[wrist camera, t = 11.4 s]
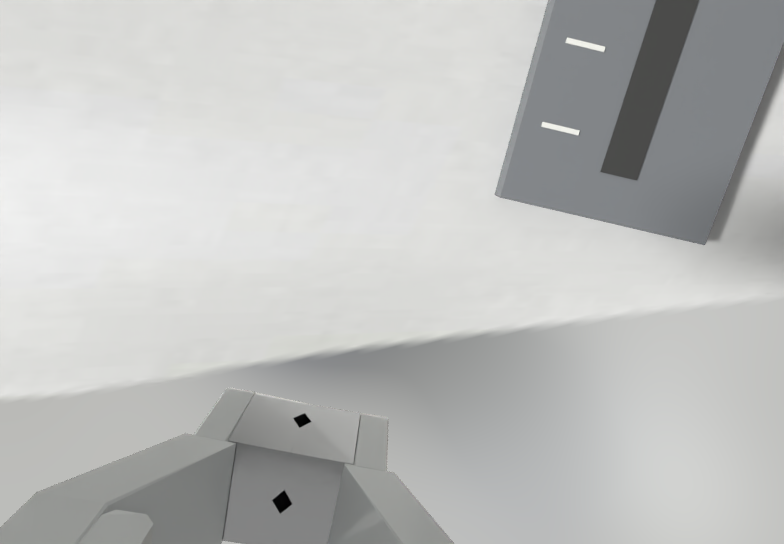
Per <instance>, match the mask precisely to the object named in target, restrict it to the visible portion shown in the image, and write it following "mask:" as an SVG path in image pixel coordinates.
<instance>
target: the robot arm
mask: <svg viewBox="0 0 784 544" xmlns="http://www.w3.org/2000/svg"><path fill="white" fill-rule="evenodd" d="M387 447H388V418H387V417H384V416H377V415H370V414H364V413H361V415H360V413H359V412H353V411H347V410H341V409H335V408H329V407H323V406H316V405H311V404H308V403H303V402H298V401H294V400H289V399H284V398H280V397H274V396H270V395H266V394H261V393H255V392H253V391H247V390H242V389H236V388H227V389H226V390H225V391H224V392H223V394H222V395H221V396H220V398H219V399H218V401H217V402H216V403H215V405H214V406H213V408H212V409H211V411H210V412H209V413H208V415H207V416H206V418H205V419H204V421H203V422H202V423H201V425H200V426H199V428H198V429H197V431H196V432H195V434H194V435H191V434H183V435H180V436H178V437H175V438H173V439H170V440H168V441H165V442H163V443H160V444H157V445H155V446H152V447H150V448H147V449H145V450H142V451H140V452H137V453H135V454H132V455H130V456H127V457H125V458H122V459H119V460H117V461H114V462H112V463H109V464H107V465H104V466H102V467H99V468H97V469H94V470H91V471H89V472H86V473H84V474H82V475H79V476H76V477H74V478H71V479H69V480H66V481H64V482H61V483H59V484H56V485H54V486H51V487H48V488H46V489H43V490H41V491H39V492H36V493H35V494H34V495H33V496H32V497H31V498H30V499H29V500H28V501H27V502H26V503H25V504H24V505H23V506H22V507H21V508H20V509H19V510H18V511H17V512H16V513H15V514H14V515H12V516H11V517H10V518H9V520H7V521H6V522H5V523H4V524H3V525H2V526H1V527H0V544H221V543H222V541H230V542H236V543H242V544H454V543H453V541H452V540H451V539H450V538H449V537H448V535H447V534H446V533H445V532H444V531H443V530H442V528H441V527H440V526H439V525H438V524H437V522H436V521H435V520H434V519H433V518H432V516H431V515H430V514H429V513H428V512H427V511H426V509H425V508H424V507H423V506H422V505H421V504H420V502H419V501H418V500H417V499H416V498H415V496H414V495H413V494H412V493H411V492H410V491H409V489H408V488H407V487H406V486H405V485H404V483H403V482H402V481H401V480H400V479H399V478H398V476H397V475H396V474H395V473H393V472H388V471H387Z"/></svg>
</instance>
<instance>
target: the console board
mask: <svg viewBox="0 0 784 544" xmlns="http://www.w3.org/2000/svg"><path fill="white" fill-rule="evenodd" d="M783 43H784V0H548V4H547V8H546V11H545V15H544V18H543V22H542V26H541V29H540V33H539V36H538V40H537V44H536V47H535V51H534V55H533V58H532V62H531V65H530V69H529V73H528V76H527V80H526V83H525V87H524V91H523V94H522V98H521V102H520V105H519V109H518V112H517V116H516V120H515V123H514V127H513V131H512V134H511V138H510V141H509V145H508V149H507V152H506V156H505V159H504V163H503V167H502V170H501V174H500V178H499V181H498V185H497V188H496V192H495V195H496V196H498V197H501V198H505V199H509V200H513V201H518V202H522V203H526V204H531V205H535V206H539V207H543V208H548V209H552V210H556V211H561V212H565V213H569V214H573V215H578V216H582V217H586V218H591V219H595V220H599V221H603V222H608V223H612V224H616V225H621V226H625V227H629V228H633V229H638V230H642V231H646V232H651V233H655V234H659V235H663V236H668V237H672V238H676V239H681V240H685V241H689V242H693V243H698V244H702V245H705V244H706V241H707V238H708V236H709V233H710V231H711V228H712V226H713V223H714V220H715V218H716V215H717V213H718V210H719V208H720V205H721V202H722V200H723V197H724V195H725V192H726V190H727V187H728V185H729V182H730V179H731V177H732V174H733V172H734V169H735V167H736V164H737V161H738V159H739V156H740V154H741V151H742V149H743V146H744V143H745V141H746V138H747V136H748V133H749V131H750V128H751V125H752V123H753V120H754V118H755V115H756V113H757V110H758V107H759V105H760V102H761V100H762V97H763V95H764V92H765V89H766V87H767V84H768V82H769V79H770V77H771V74H772V71H773V69H774V66H775V64H776V61H777V59H778V56H779V53H780V51H781V48H782V46H783Z"/></svg>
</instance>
